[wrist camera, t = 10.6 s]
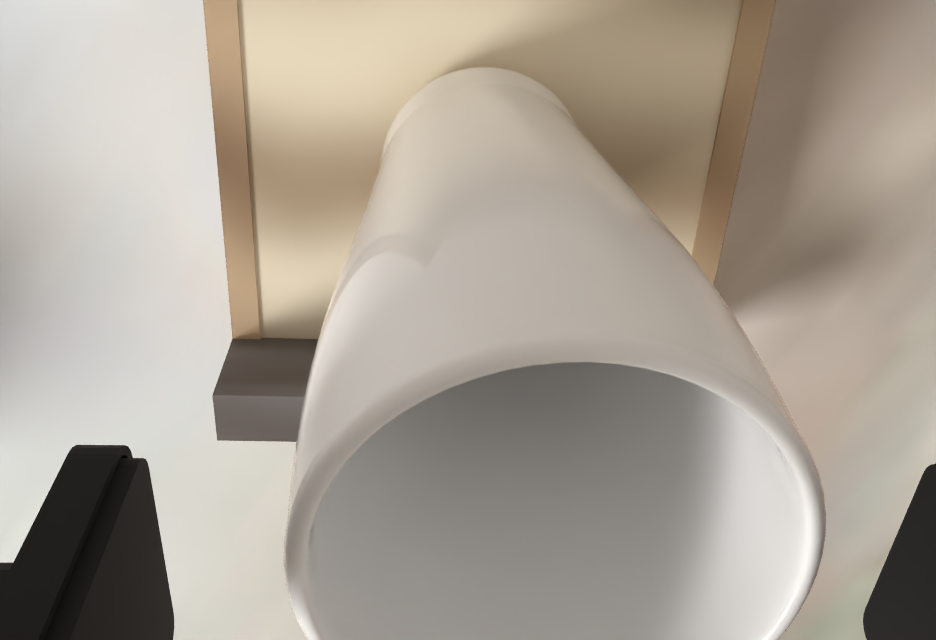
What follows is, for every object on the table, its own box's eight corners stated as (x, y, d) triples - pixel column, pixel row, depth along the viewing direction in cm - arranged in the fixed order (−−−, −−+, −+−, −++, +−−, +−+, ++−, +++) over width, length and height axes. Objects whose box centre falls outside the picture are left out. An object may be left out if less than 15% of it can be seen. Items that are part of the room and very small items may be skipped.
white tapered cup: (601, 268, 26) (794, 737, 12) (366, 280, 25) (310, 769, 12) (612, 24, 22) (890, 318, 9) (341, 37, 22) (229, 353, 9)
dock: (218, -146, 23) (157, -133, 17) (755, -113, 24) (850, -92, 18) (253, 329, 29) (216, 440, 24) (666, 339, 30) (717, 448, 25)
